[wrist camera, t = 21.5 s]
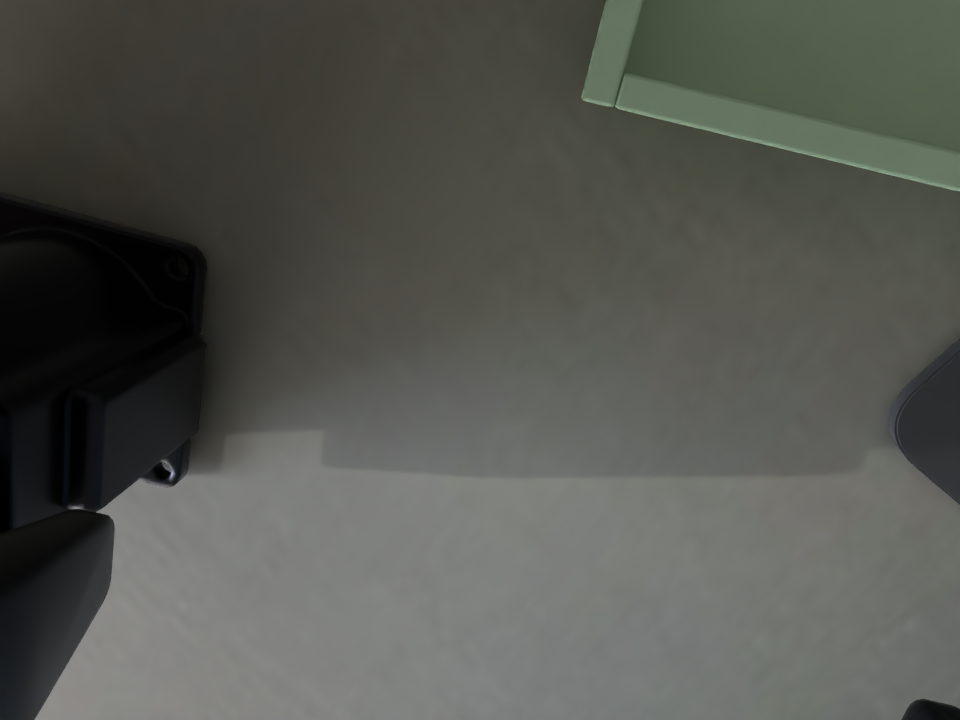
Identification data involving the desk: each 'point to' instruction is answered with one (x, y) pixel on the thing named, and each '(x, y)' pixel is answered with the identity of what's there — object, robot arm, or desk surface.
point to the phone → (932, 422)
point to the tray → (794, 76)
